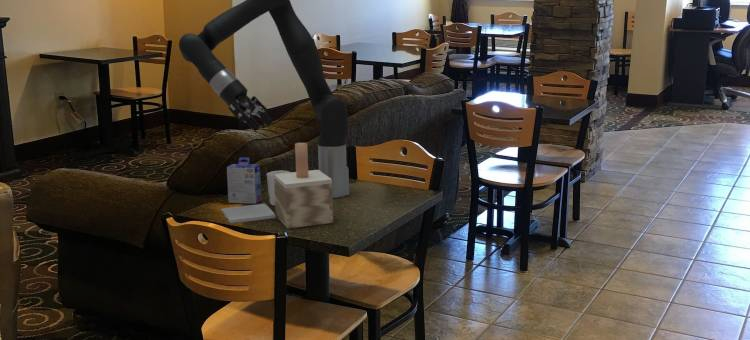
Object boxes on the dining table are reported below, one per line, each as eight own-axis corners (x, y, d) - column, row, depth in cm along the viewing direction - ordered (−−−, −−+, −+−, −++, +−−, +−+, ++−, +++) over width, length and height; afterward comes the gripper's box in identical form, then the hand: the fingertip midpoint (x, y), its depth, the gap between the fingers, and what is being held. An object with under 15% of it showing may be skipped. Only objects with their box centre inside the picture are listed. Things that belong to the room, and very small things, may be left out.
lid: (318, 173, 251) (317, 137, 248) (332, 183, 238) (330, 145, 236) (274, 178, 246) (272, 141, 244) (285, 188, 233) (283, 150, 231)
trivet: (265, 206, 260) (265, 203, 259) (275, 217, 247) (275, 214, 247) (221, 211, 255) (221, 208, 255) (229, 223, 242) (229, 220, 242)
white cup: (296, 201, 266) (295, 171, 263) (286, 207, 258) (284, 176, 256) (274, 199, 268) (273, 170, 266) (264, 205, 261) (262, 175, 259)
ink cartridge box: (262, 200, 268) (260, 157, 265) (256, 204, 263) (254, 160, 259) (234, 199, 270) (231, 156, 267) (228, 203, 265) (225, 159, 261)
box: (319, 210, 254) (318, 173, 251) (333, 222, 241) (332, 183, 238) (275, 216, 249) (274, 178, 246) (287, 228, 236) (285, 188, 233)
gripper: (223, 81, 235) (261, 122, 234) (247, 76, 249) (282, 114, 247) (208, 99, 238) (245, 139, 237) (232, 92, 251) (267, 130, 250)
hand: (264, 126), depth 242 cm, fingers open, 8 cm apart
